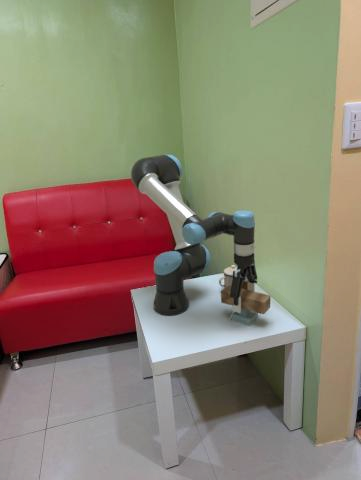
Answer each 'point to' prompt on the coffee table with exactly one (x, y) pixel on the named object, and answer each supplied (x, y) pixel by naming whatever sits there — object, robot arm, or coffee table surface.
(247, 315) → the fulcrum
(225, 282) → the teacup with lid
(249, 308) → the batten
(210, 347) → the coffee table surface
